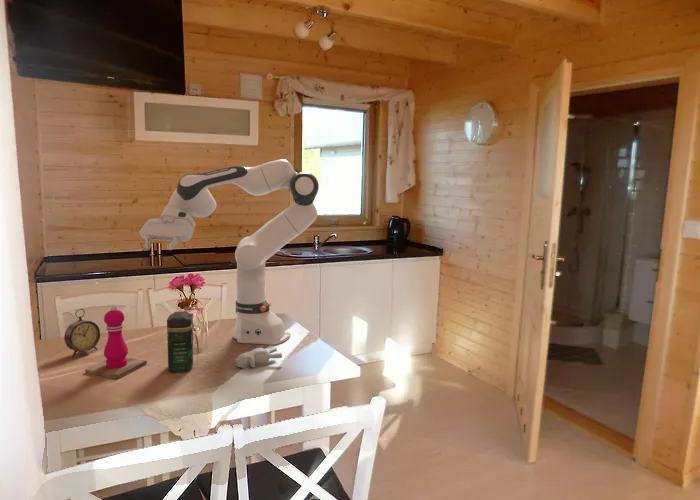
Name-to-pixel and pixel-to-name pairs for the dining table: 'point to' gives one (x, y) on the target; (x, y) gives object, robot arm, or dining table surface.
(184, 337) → the coffee jar
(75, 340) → the alarm clock
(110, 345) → the pepper mill
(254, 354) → the bunny figurine
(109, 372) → the walnut board
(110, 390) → the dining table surface
